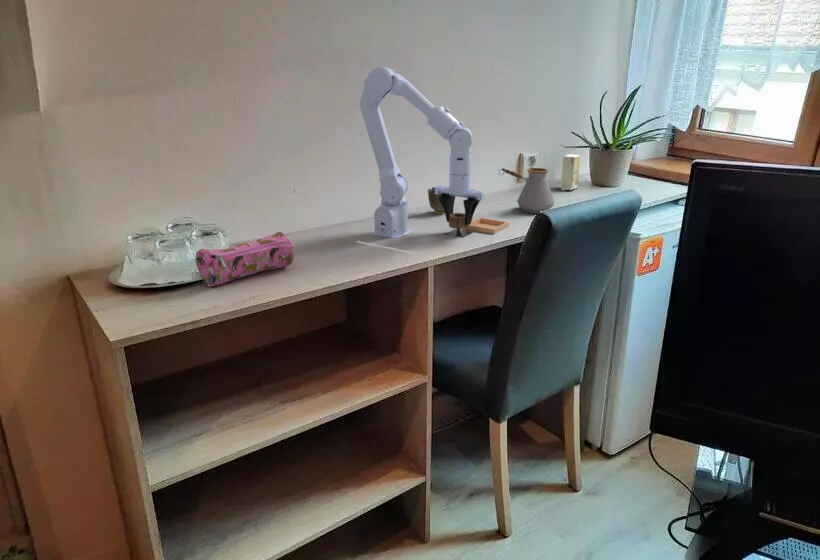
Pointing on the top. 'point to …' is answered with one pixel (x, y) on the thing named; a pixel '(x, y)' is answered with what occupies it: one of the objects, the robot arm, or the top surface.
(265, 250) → the pencil case
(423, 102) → the robot arm
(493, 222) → the dish
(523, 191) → the coffee pot
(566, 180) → the skincare box
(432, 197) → the cup
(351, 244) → the top surface
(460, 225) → the ring
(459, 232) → the stand
